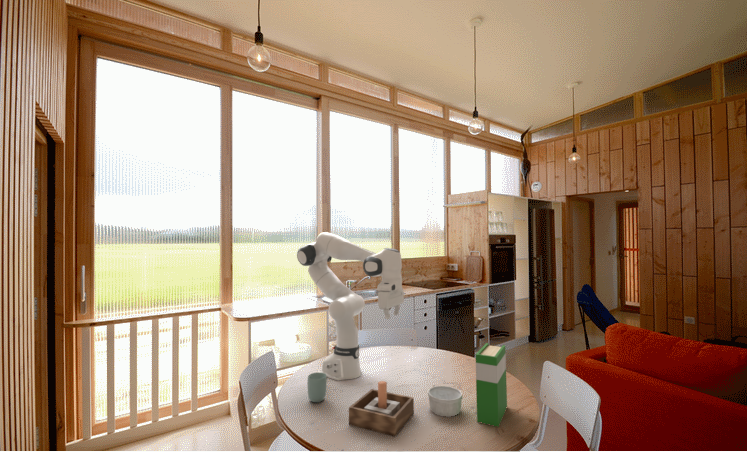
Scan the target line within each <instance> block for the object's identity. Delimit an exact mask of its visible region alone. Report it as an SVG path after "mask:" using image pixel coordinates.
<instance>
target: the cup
mask: <svg viewBox="0 0 747 452" xmlns="http://www.w3.org/2000/svg"><path fill="white" fill-rule="evenodd" d="M327 379H328V377H327V375H326V374H325V373H318V372H313V373H309V374H308V375H307V396H308V400H309V401H311V403H320V402H322V401H324V400H325V398H326V395H327V390H328V389H327V387H328V386H327V385H328V384H327V383H328V381H327Z"/></svg>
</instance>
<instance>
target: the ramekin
mask: <svg viewBox="0 0 747 452" xmlns="http://www.w3.org/2000/svg"><path fill="white" fill-rule="evenodd" d="M427 396H428V403H429V409H430V411H432V413H433V412H434V413H433V414H434V415H436V414H437V415H436V416H439V415H440V416H439V417H443V416H446V417H445V418H451V416H453V417H455V415H456V416H457V414H458V415H459V414H460V412H461V410H462V400H463V392H462V391H461V390H460V389H459V388H456V387H453V386H450V385H435V386H432V387H430V388H429V389H428V390H427Z"/></svg>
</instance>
